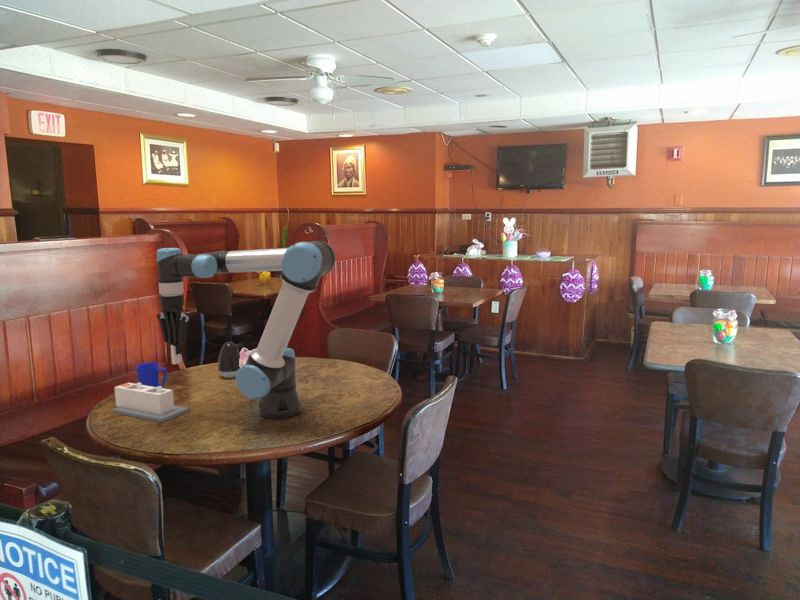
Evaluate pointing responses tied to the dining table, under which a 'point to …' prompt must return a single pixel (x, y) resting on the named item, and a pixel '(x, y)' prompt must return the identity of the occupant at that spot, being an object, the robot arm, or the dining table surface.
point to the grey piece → (152, 416)
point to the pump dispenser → (229, 360)
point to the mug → (150, 374)
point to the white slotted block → (144, 398)
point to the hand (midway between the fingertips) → (176, 363)
